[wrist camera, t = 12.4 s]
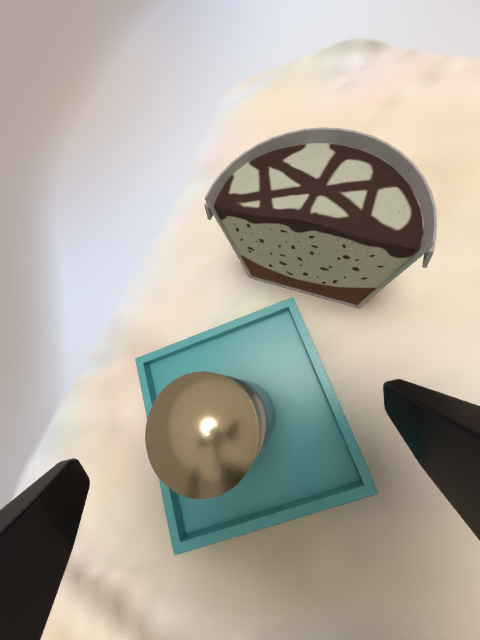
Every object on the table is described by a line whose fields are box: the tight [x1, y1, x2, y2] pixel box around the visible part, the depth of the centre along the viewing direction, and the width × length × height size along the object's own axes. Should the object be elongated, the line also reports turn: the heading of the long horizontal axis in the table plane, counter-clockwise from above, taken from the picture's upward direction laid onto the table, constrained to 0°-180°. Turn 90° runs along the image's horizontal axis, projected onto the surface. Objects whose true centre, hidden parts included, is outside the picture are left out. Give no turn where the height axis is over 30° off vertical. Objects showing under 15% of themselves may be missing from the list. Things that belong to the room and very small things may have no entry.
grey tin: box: [145, 371, 275, 499], centre depth 16 cm, size 5×5×9 cm
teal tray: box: [135, 297, 378, 555], centre depth 20 cm, size 14×14×2 cm
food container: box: [205, 128, 437, 308], centre depth 18 cm, size 12×6×10 cm, turn 68°
